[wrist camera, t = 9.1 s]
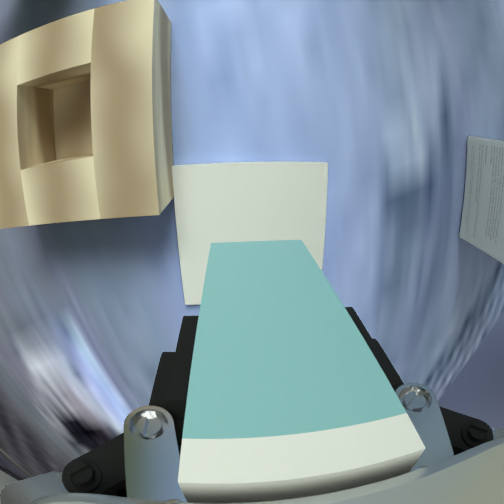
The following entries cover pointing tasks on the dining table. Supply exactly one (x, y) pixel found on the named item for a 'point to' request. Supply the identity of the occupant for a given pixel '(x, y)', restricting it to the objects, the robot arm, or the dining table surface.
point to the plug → (284, 386)
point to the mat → (246, 210)
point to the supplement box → (484, 196)
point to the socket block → (87, 117)
